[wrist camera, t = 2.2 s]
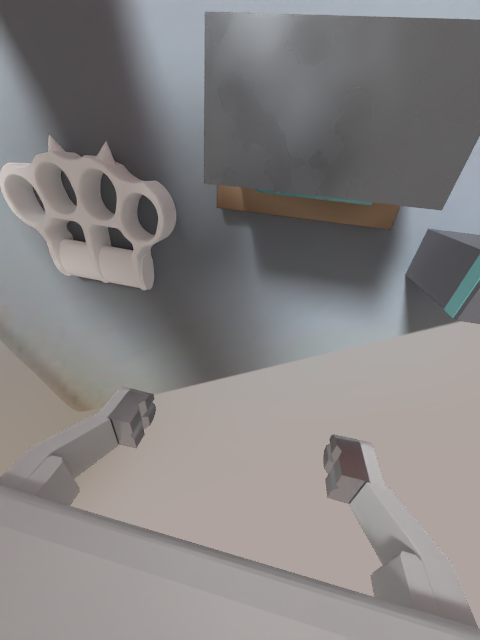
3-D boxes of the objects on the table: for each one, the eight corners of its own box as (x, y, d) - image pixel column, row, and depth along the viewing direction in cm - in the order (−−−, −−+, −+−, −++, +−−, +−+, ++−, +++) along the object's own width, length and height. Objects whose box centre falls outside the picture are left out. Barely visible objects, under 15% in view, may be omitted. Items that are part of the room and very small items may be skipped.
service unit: (246, 83, 18) (204, 0, 9) (415, 93, 16) (544, 7, 8) (238, 183, 21) (204, 189, 13) (376, 199, 20) (438, 216, 11)
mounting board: (226, 66, 18) (221, 58, 17) (444, 79, 17) (456, 71, 15) (220, 206, 24) (216, 207, 23) (384, 226, 22) (390, 229, 21)
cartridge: (427, 228, 22) (500, 256, 14) (482, 234, 21) (588, 268, 13) (404, 275, 24) (455, 320, 16) (452, 282, 23) (528, 332, 16)
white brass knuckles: (55, 265, 32) (10, 129, 24) (180, 288, 30) (175, 149, 22) (33, 273, 29) (-27, 123, 21) (168, 299, 28) (159, 146, 20)
